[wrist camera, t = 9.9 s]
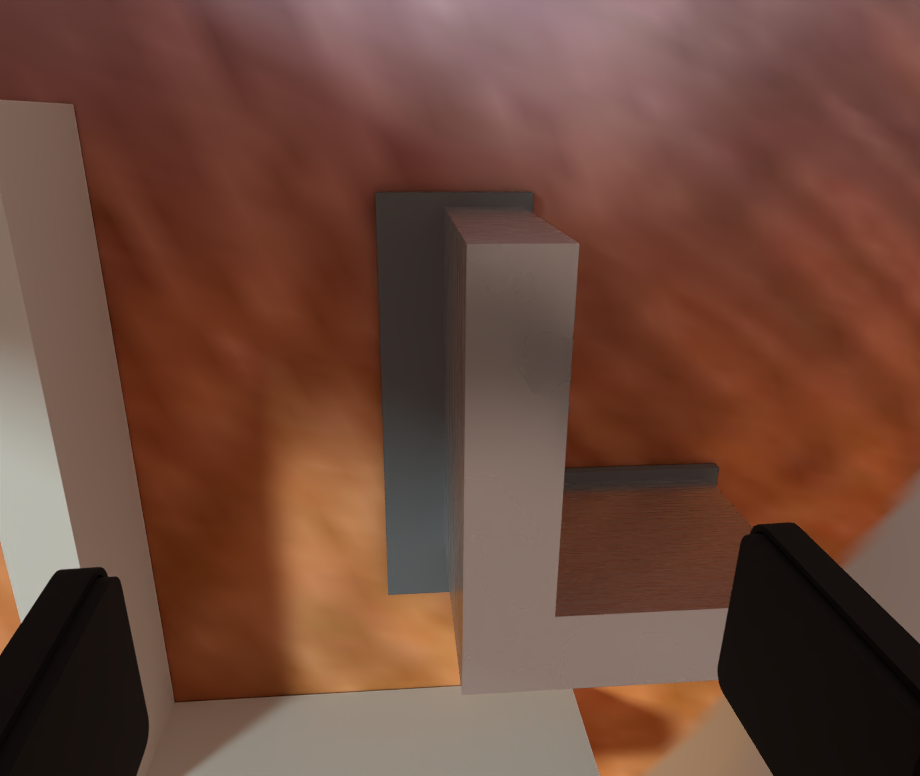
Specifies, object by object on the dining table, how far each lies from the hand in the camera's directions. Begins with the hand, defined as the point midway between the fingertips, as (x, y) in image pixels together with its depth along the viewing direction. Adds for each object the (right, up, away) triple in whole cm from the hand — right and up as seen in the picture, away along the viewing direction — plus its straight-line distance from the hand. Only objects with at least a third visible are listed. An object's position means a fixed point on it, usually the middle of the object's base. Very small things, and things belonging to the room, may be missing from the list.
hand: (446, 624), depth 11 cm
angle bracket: (+4, +4, +9) cm, 11 cm away
